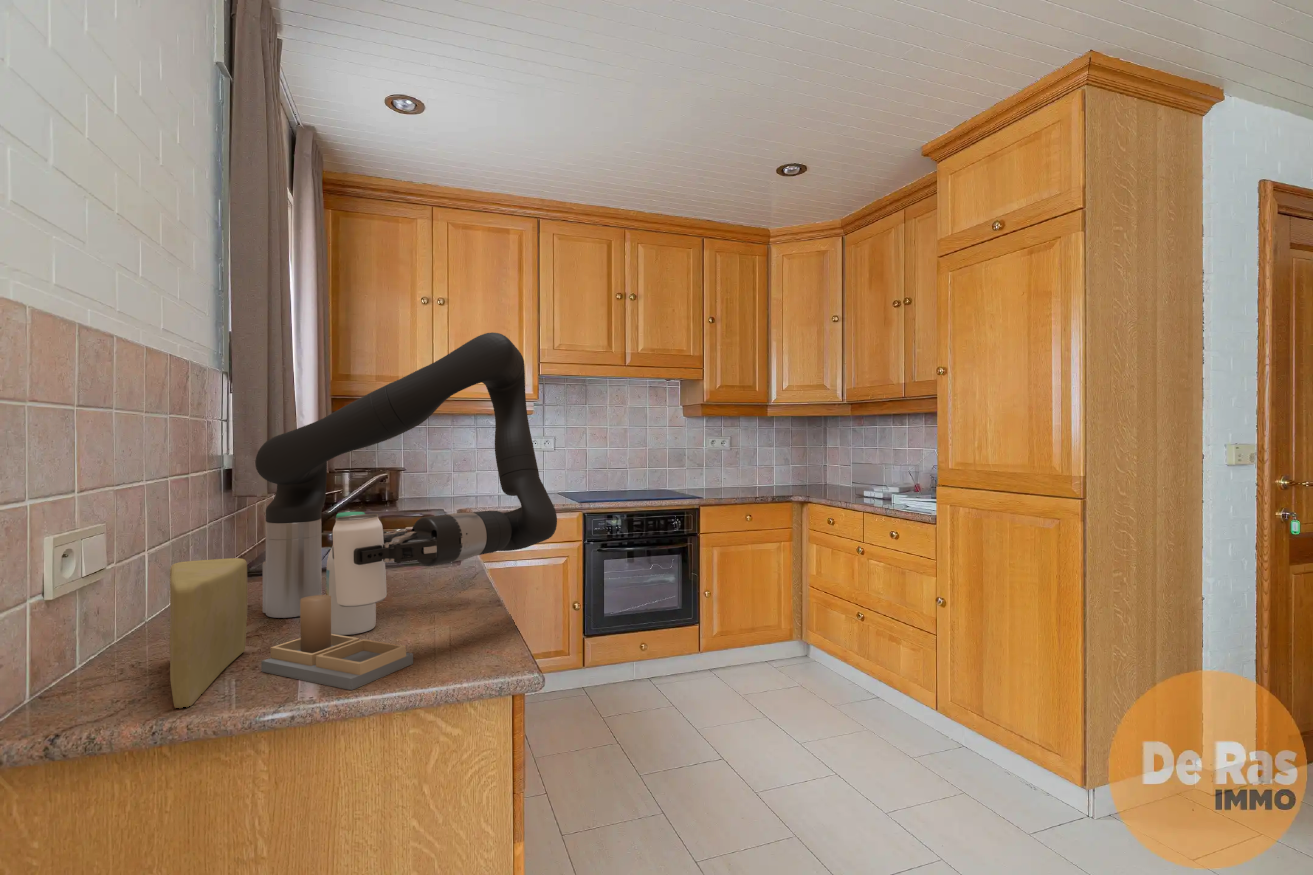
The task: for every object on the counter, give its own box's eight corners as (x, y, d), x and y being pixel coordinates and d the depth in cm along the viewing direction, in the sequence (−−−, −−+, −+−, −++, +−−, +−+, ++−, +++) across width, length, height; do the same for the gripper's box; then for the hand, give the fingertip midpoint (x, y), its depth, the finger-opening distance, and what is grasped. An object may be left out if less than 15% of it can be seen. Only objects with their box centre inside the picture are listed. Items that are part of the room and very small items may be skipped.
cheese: (229, 703, 84) (229, 583, 84) (132, 717, 79) (132, 591, 79) (248, 651, 104) (247, 554, 104) (171, 660, 99) (171, 559, 99)
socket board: (261, 671, 95) (261, 604, 94) (327, 648, 105) (327, 587, 105) (351, 690, 88) (351, 617, 88) (413, 663, 98) (413, 598, 98)
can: (368, 607, 91) (362, 519, 91) (326, 607, 92) (320, 520, 92) (396, 595, 97) (391, 512, 97) (356, 595, 98) (351, 514, 98)
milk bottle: (385, 625, 117) (385, 511, 117) (352, 638, 110) (351, 516, 110) (350, 621, 120) (350, 509, 120) (315, 633, 112) (315, 514, 112)
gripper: (422, 511, 110) (318, 523, 96) (478, 517, 101) (371, 531, 88) (423, 556, 110) (318, 575, 97) (478, 567, 101) (372, 589, 88)
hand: (344, 554), depth 92 cm, fingers closed on can, 5 cm apart
